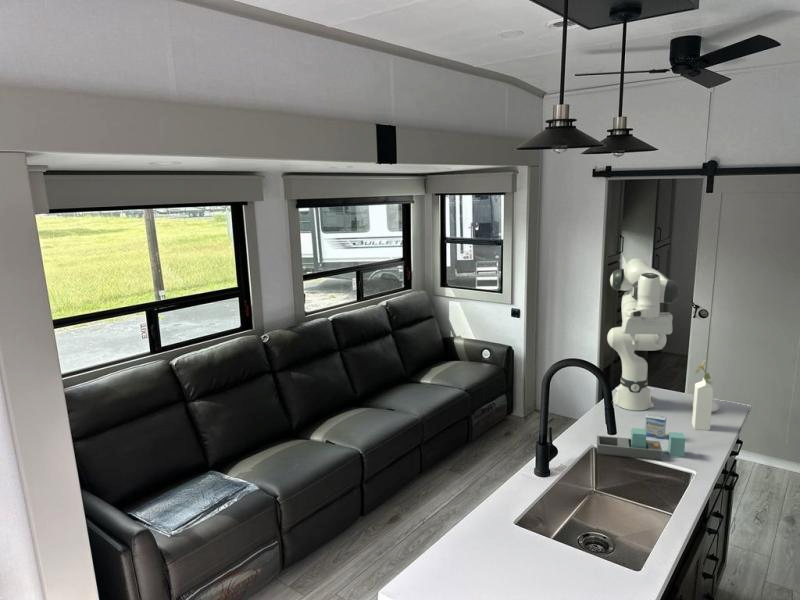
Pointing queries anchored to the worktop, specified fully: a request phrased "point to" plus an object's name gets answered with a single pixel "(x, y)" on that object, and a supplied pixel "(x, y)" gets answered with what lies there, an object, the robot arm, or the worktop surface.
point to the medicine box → (655, 426)
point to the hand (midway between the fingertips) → (646, 344)
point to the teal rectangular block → (676, 444)
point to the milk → (702, 405)
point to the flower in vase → (707, 376)
